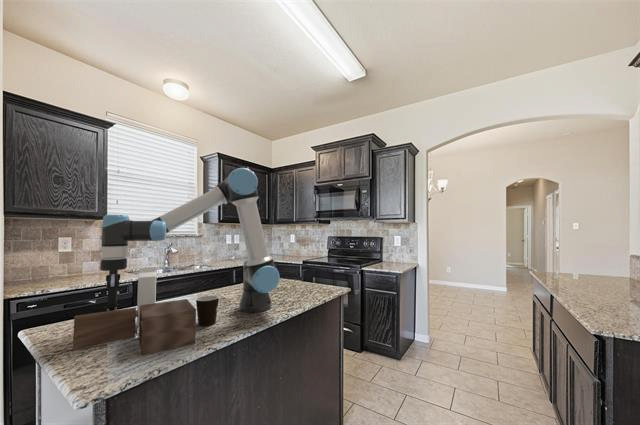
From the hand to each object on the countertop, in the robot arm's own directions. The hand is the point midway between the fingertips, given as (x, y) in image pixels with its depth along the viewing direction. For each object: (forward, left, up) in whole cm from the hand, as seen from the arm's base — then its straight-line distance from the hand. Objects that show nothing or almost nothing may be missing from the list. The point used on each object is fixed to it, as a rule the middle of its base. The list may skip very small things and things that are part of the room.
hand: (111, 326), depth 94 cm
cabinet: (-15, +14, -4) cm, 21 cm away
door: (+1, +4, -4) cm, 6 cm away
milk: (-11, -11, -4) cm, 16 cm away
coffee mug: (-32, +3, -4) cm, 32 cm away
